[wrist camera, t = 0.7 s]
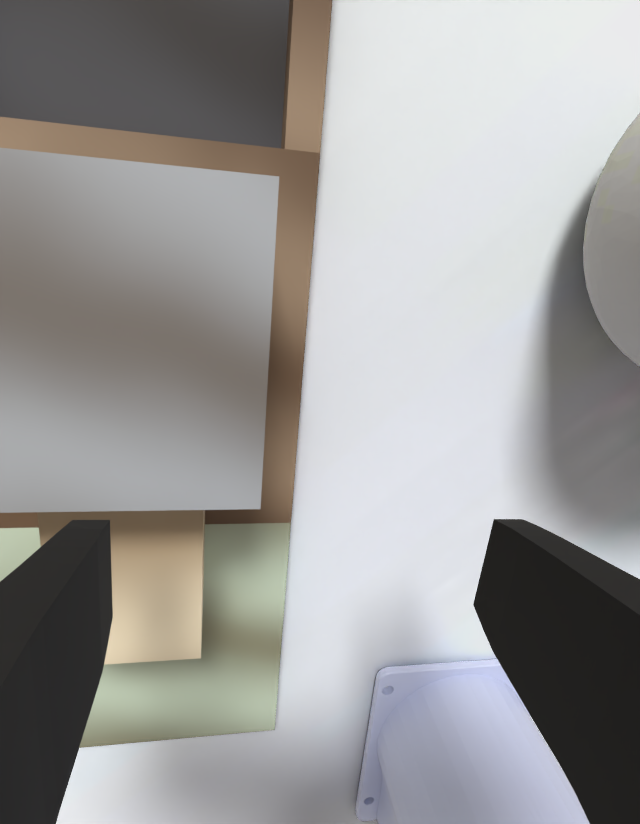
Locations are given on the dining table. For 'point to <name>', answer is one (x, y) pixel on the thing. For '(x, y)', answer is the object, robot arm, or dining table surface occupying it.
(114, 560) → the maple bar
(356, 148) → the dining table surface
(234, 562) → the tunnel deck
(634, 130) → the teacup
